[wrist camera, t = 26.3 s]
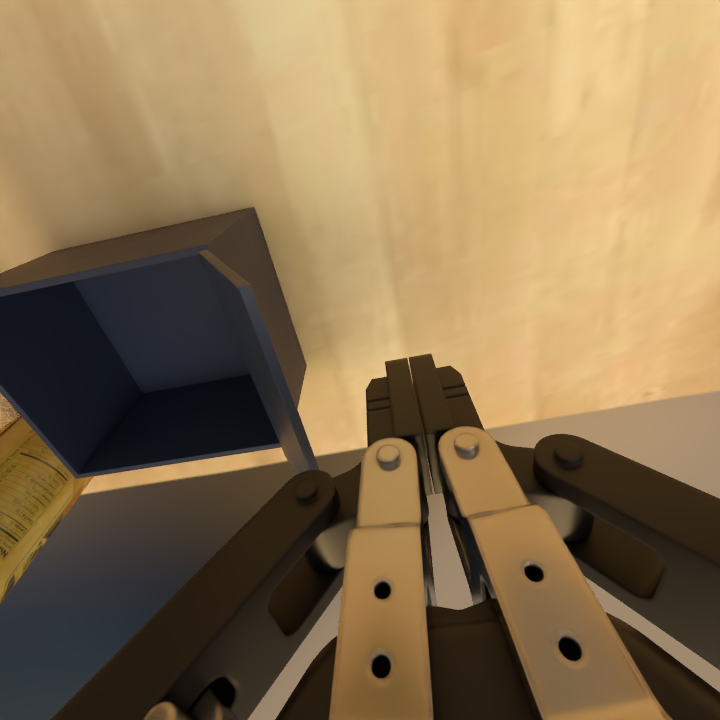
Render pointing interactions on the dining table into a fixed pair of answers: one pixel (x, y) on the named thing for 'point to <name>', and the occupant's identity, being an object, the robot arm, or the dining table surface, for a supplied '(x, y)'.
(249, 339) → the flap
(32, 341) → the carton
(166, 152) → the dining table surface
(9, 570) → the sauce bottle
